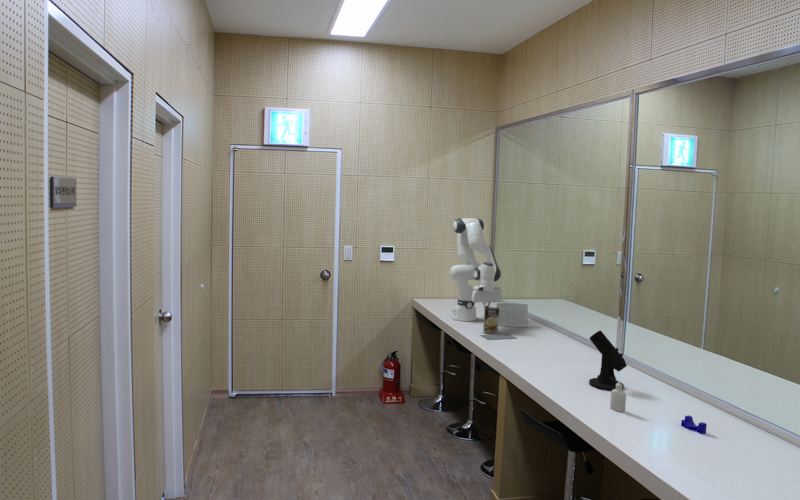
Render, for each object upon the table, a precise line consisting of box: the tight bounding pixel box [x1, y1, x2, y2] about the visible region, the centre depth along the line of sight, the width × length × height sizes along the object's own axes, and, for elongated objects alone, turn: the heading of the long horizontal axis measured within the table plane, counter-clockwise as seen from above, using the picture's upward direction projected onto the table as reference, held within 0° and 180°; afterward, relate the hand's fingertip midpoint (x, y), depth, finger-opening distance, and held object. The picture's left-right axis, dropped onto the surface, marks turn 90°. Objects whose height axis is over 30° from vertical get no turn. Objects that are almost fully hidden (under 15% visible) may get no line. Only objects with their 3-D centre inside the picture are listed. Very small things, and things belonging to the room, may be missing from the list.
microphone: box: [588, 330, 628, 392], centre depth 247 cm, size 15×17×25 cm
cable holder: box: [680, 414, 707, 435], centre depth 201 cm, size 8×4×4 cm, turn 16°
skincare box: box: [495, 301, 529, 328], centre depth 365 cm, size 21×6×16 cm, turn 84°
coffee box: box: [482, 306, 499, 335], centre depth 344 cm, size 9×6×16 cm
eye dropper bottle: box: [609, 380, 627, 413], centre depth 218 cm, size 4×6×12 cm
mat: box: [479, 333, 518, 341], centre depth 334 cm, size 11×20×1 cm, turn 107°
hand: (486, 308), depth 350 cm, fingers closed
